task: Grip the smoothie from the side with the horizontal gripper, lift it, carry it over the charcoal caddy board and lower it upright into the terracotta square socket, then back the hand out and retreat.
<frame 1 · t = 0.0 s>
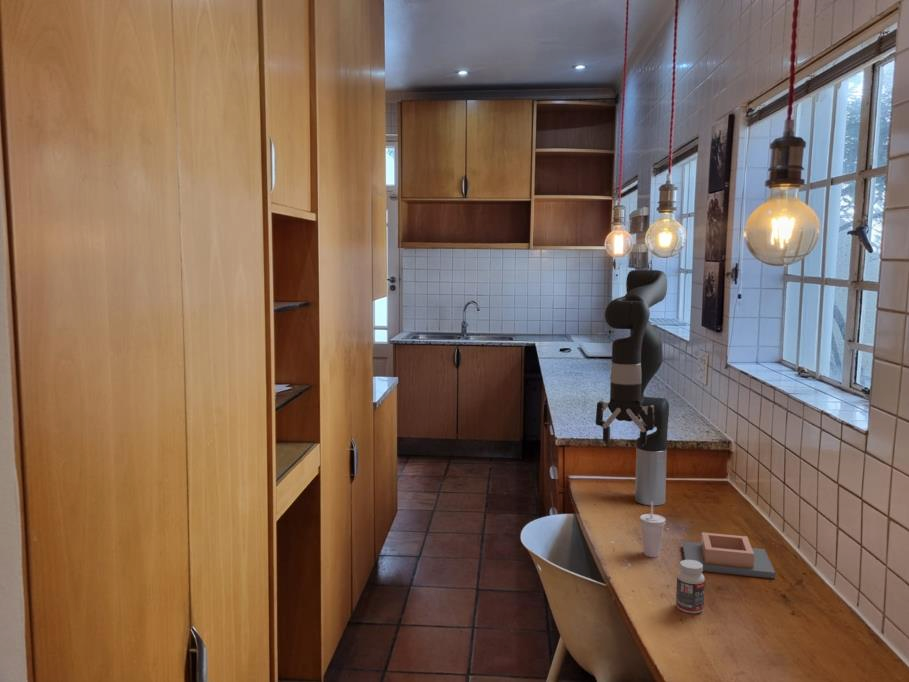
hand: (624, 444, 171), 29 cm above the table, tool pointing down, fingers open, 8 cm apart
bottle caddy: (726, 561, 170), on the table
pill bottle: (689, 608, 147), on the table
smoothie: (651, 555, 175), on the table
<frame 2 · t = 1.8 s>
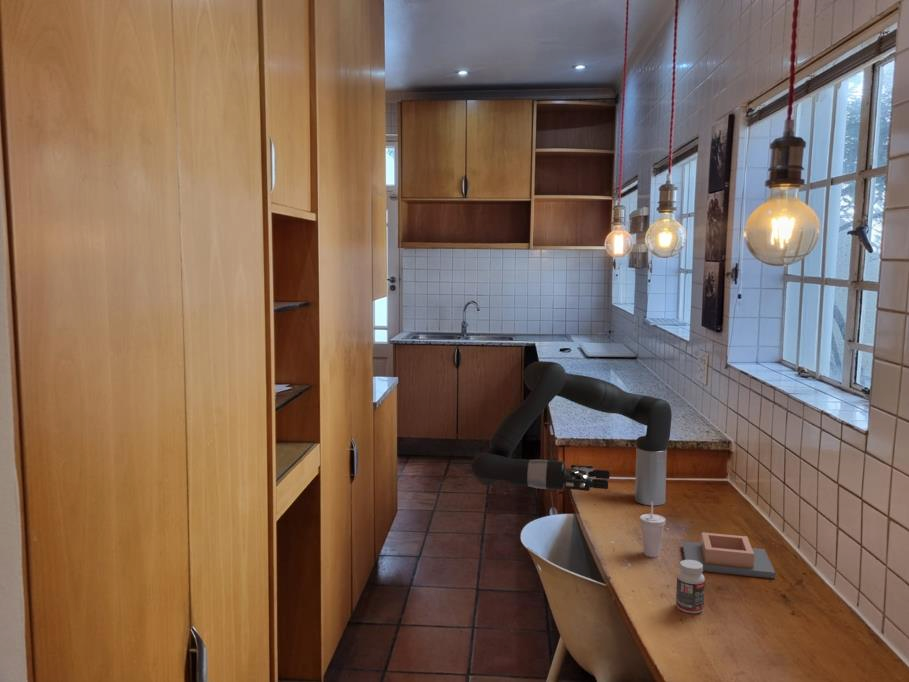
hand: (608, 479, 176), 19 cm above the table, tool horizontal, fingers open, 8 cm apart
nothing on the table moved.
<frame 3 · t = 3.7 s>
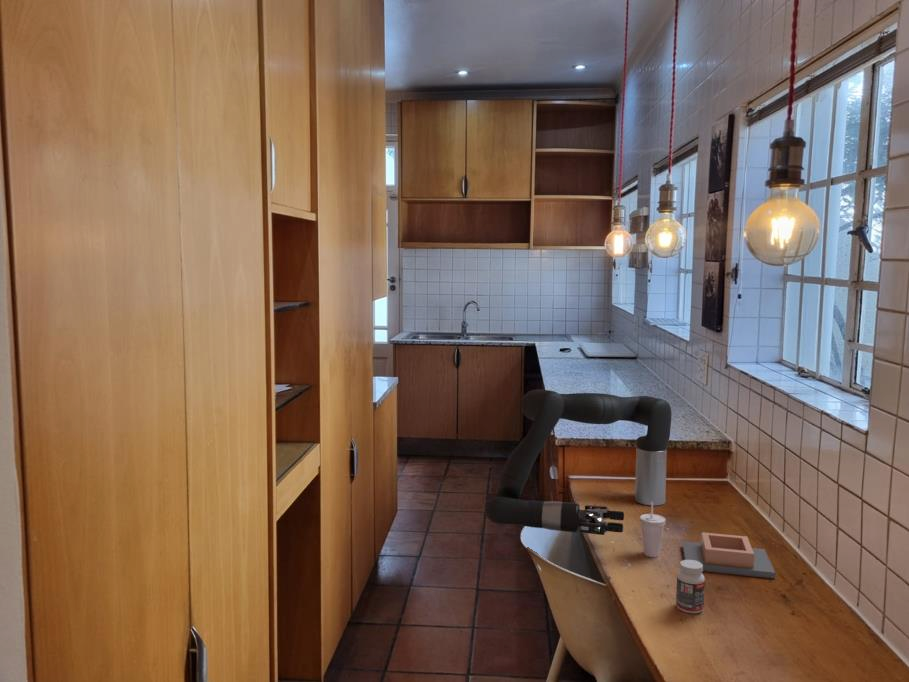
hand: (623, 521, 176), 8 cm above the table, tool horizontal, fingers open, 8 cm apart
nothing on the table moved.
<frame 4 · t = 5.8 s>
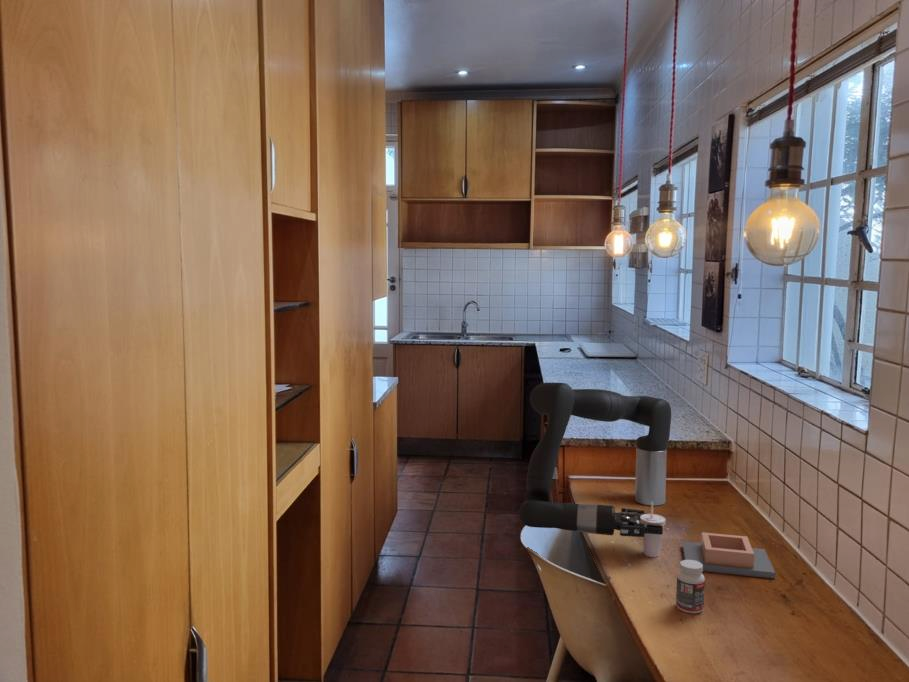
hand: (662, 525, 173), 8 cm above the table, tool horizontal, fingers closed on smoothie, 6 cm apart
smoothie: (651, 554, 175), on the table, touching gripper
everything else where it was.
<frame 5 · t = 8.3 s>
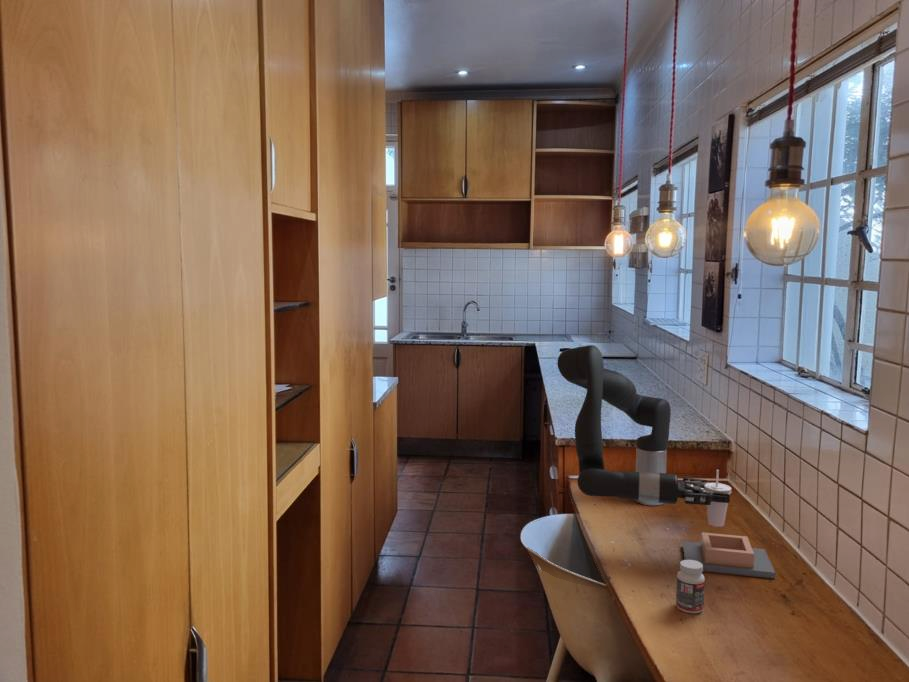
hand: (727, 493, 168), 18 cm above the table, tool horizontal, fingers closed on smoothie, 6 cm apart
smoothie: (715, 524, 170), point 9 cm above the table, touching gripper
everything else where it was.
when the fingers open (11 cm above the table, at t = 10.7 s): smoothie drops 1 cm, resting on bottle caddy.
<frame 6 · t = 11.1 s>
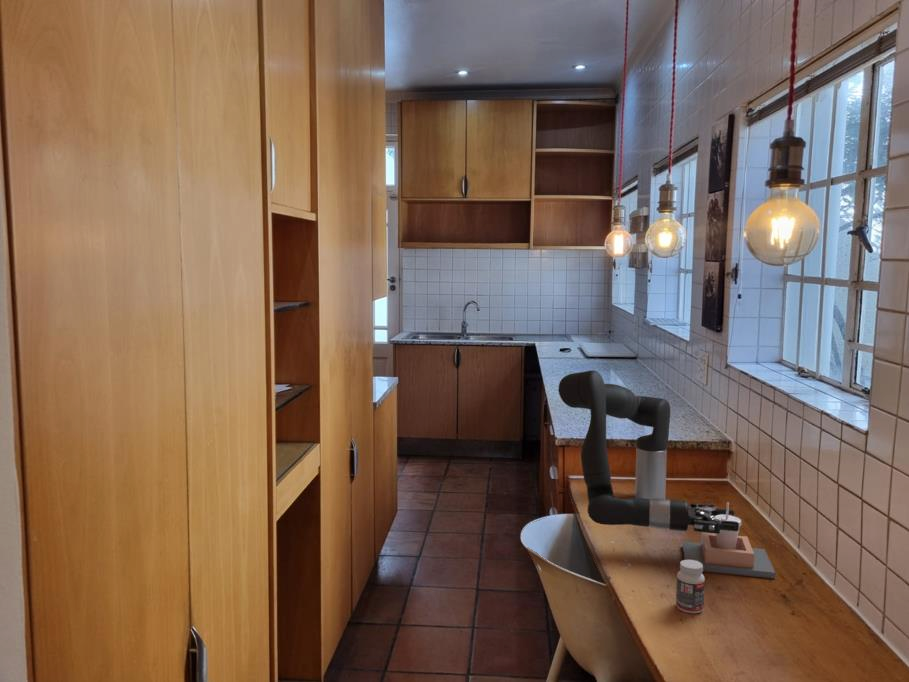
hand: (736, 520, 168), 11 cm above the table, tool horizontal, fingers open, 8 cm apart
smoothie: (725, 556, 170), point 1 cm above the table, touching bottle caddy
everything else where it was.
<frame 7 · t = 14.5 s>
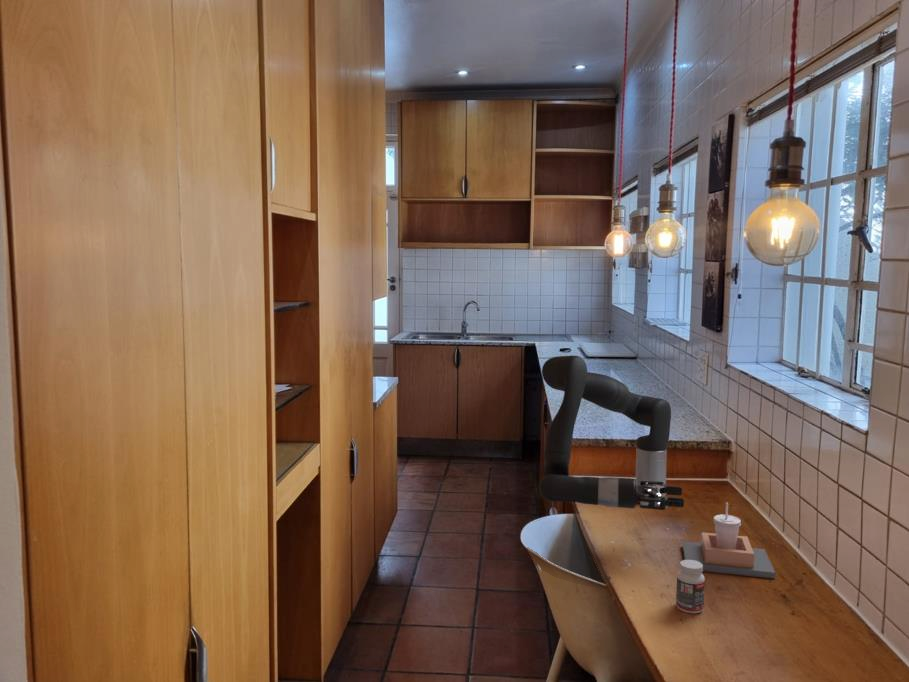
hand: (682, 496, 172), 16 cm above the table, tool horizontal, fingers open, 8 cm apart
nothing on the table moved.
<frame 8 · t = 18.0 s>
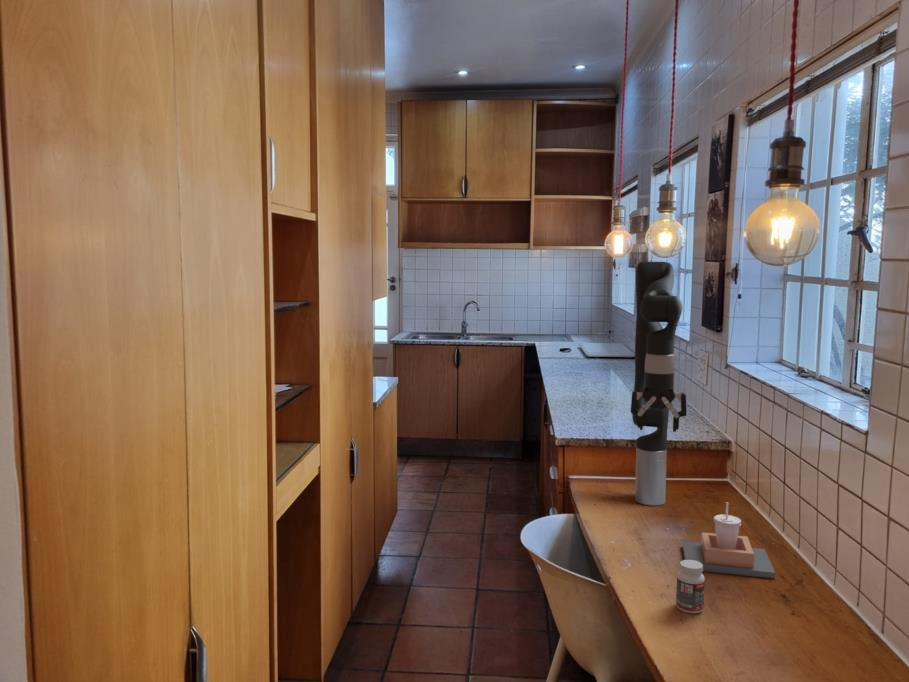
hand: (657, 430, 182), 30 cm above the table, tool pointing down, fingers open, 8 cm apart
nothing on the table moved.
at the end: smoothie 0.2 cm off-centre on the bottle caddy, point 1.3 cm above the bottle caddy's base; smoothie tilted 0°; the gripper is holding nothing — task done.
